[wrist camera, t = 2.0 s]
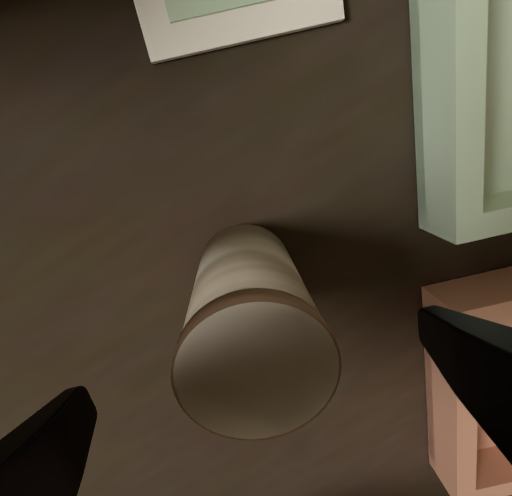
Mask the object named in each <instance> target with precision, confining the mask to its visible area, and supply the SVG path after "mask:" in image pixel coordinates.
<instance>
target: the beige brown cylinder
mask: <svg viewBox="0 0 512 496" xmlns="http://www.w3.org/2000/svg"><path fill="white" fill-rule="evenodd" d="M340 375H341V356H340V352H339V348H338V346H337V343H336V341H335V339H334V337H333V335H332V333H331V331H330V329H329V327H328V325H327V324H326V322H325V320H324V319H323V317H322V316H321V315H320V314H319V312H318V310H317V308H316V306H315V304H314V302H313V300H312V298H311V296H310V294H309V293H308V291H307V289H306V287H305V285H304V283H303V281H302V279H301V277H300V275H299V273H298V271H297V269H296V267H295V265H294V263H293V261H292V259H291V258H290V256H289V254H288V252H287V250H286V248H285V246H284V244H283V243H282V241H281V240H280V239H279V238H278V237H277V236H276V235H275V234H274V233H272V232H271V231H270V230H268V229H266V228H264V227H261V226H258V225H253V224H239V225H234V226H230V227H228V228H225V229H223V230H222V231H220V232H218V233H217V234H216V235H215V236H213V238H212V239H211V240H210V241H209V242H208V244H207V245H206V247H205V249H204V251H203V253H202V257H201V260H200V264H199V268H198V272H197V276H196V280H195V284H194V288H193V292H192V296H191V299H190V303H189V307H188V311H187V315H186V319H185V323H184V327H183V330H182V332H181V334H180V337H179V339H178V342H177V346H176V350H175V353H174V357H173V362H172V367H171V382H172V388H173V391H174V395H175V397H176V399H177V401H178V403H179V405H180V406H181V408H182V409H183V411H184V412H185V413H186V414H187V415H188V416H189V417H190V418H191V419H192V420H193V421H194V422H195V423H197V424H198V425H200V426H201V427H203V428H204V429H206V430H208V431H210V432H212V433H214V434H217V435H220V436H223V437H227V438H231V439H237V440H253V441H254V440H265V439H271V438H275V437H279V436H282V435H285V434H288V433H290V432H293V431H295V430H297V429H299V428H301V427H303V426H304V425H306V424H307V423H309V422H310V421H312V420H313V419H314V418H315V417H316V416H318V415H319V414H320V413H321V411H322V410H323V409H324V408H325V407H326V406H327V404H328V403H329V402H330V400H331V399H332V397H333V395H334V393H335V391H336V389H337V386H338V383H339V379H340Z"/></svg>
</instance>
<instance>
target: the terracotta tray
mask: <svg viewBox="0 0 512 496" xmlns="http://www.w3.org/2000/svg"><path fill="white" fill-rule="evenodd" d="M431 305H437V306H440V307H444V308H447V309H451V310H454V311H458V312H461V313H464V314H468V315H471V316H475V317H478V318H482V319H485V320H489V321H492V322H496V323H499V324H503V325H506V326H509V327H512V266H510V267H506V268H501V269H497V270H492V271H488V272H484V273H479V274H475V275H471V276H466V277H462V278H458V279H453V280H449V281H444V282H440V283H436V284H431V285H427V286H423V287H422V307H427V306H431ZM424 354H425V377H426V400H427V422H428V445H429V463H430V464H431V466H432V467H433V469H434V471H435V472H436V474H437V475H438V477H439V479H440V480H441V482H442V484H443V485H444V487H445V488H446V490H447V492H448V493H449V495H450V496H508V495H512V465H511V464H510V463H509V461H508V460H507V459H506V458H505V456H504V455H503V454H502V453H501V451H500V450H499V449H498V448H497V446H496V445H495V444H494V443H493V441H492V440H491V439H490V438H489V436H488V435H487V434H486V433H485V431H484V430H483V429H482V428H481V426H480V425H479V424H478V423H477V421H476V420H475V419H474V418H473V416H472V415H471V414H470V413H469V411H468V410H467V409H466V408H465V406H464V405H463V404H462V403H461V401H460V400H459V399H458V397H457V396H456V395H455V393H454V392H453V391H452V389H451V388H450V386H449V385H448V383H447V382H446V380H445V379H444V377H443V375H442V374H441V372H440V371H439V369H438V368H437V366H436V365H435V363H434V362H433V360H432V359H431V357H430V355H429V354H428V352H427V351H426V349H425V348H424Z"/></svg>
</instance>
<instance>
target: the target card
mask: <svg viewBox="0 0 512 496" xmlns="http://www.w3.org/2000/svg"><path fill="white" fill-rule="evenodd" d="M133 1H134V5H135V8H136V12H137V15H138V19H139V22H140V26H141V29H142V33H143V36H144V40H145V43H146V47H147V50H148V54H149V57H150V61H151V63H152V64H157V63H161V62H165V61H170V60H174V59H179V58H183V57H188V56H192V55H196V54H201V53H205V52H210V51H214V50H218V49H223V48H227V47H232V46H236V45H241V44H245V43H249V42H254V41H258V40H263V39H267V38H272V37H276V36H280V35H285V34H289V33H294V32H298V31H303V30H307V29H311V28H316V27H320V26H325V25H329V24H334V23H338V22H342V21H343V20H344V19H345V17H344V7H343V0H133Z"/></svg>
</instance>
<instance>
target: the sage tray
mask: <svg viewBox="0 0 512 496" xmlns="http://www.w3.org/2000/svg"><path fill="white" fill-rule="evenodd" d="M409 14H410V37H411V60H412V82H413V105H414V128H415V150H416V173H417V196H418V218H419V228H420V229H423V230H425V231H427V232H429V233H431V234H433V235H436V236H438V237H440V238H442V239H444V240H447V241H449V242H451V243H453V244H455V245H458V244H463V243H467V242H472V241H476V240H480V239H485V238H489V237H494V236H498V235H502V234H507V233H511V232H512V0H409Z"/></svg>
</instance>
